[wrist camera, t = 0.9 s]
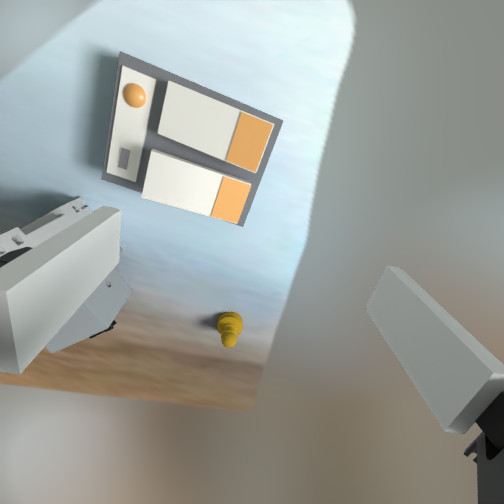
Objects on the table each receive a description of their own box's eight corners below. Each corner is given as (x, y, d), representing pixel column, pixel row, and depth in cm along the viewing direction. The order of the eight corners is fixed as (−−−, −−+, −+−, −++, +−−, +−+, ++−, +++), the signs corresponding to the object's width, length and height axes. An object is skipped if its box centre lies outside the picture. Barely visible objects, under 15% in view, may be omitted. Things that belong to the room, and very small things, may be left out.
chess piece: (220, 309, 42) (218, 331, 38) (245, 314, 43) (246, 337, 38) (215, 328, 44) (212, 352, 39) (239, 333, 44) (238, 357, 40)
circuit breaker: (107, 303, 41) (41, 393, 27) (34, 222, 35) (-95, 285, 22) (149, 283, 40) (102, 367, 26) (81, 196, 34) (-24, 246, 20)
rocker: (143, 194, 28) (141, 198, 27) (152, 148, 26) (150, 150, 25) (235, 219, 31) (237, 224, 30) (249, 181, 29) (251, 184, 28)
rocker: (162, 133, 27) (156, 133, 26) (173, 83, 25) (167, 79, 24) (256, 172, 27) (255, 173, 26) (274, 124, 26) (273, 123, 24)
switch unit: (116, 172, 33) (97, 180, 28) (135, 60, 28) (115, 48, 24) (242, 216, 36) (242, 229, 31) (278, 120, 31) (284, 120, 27)
